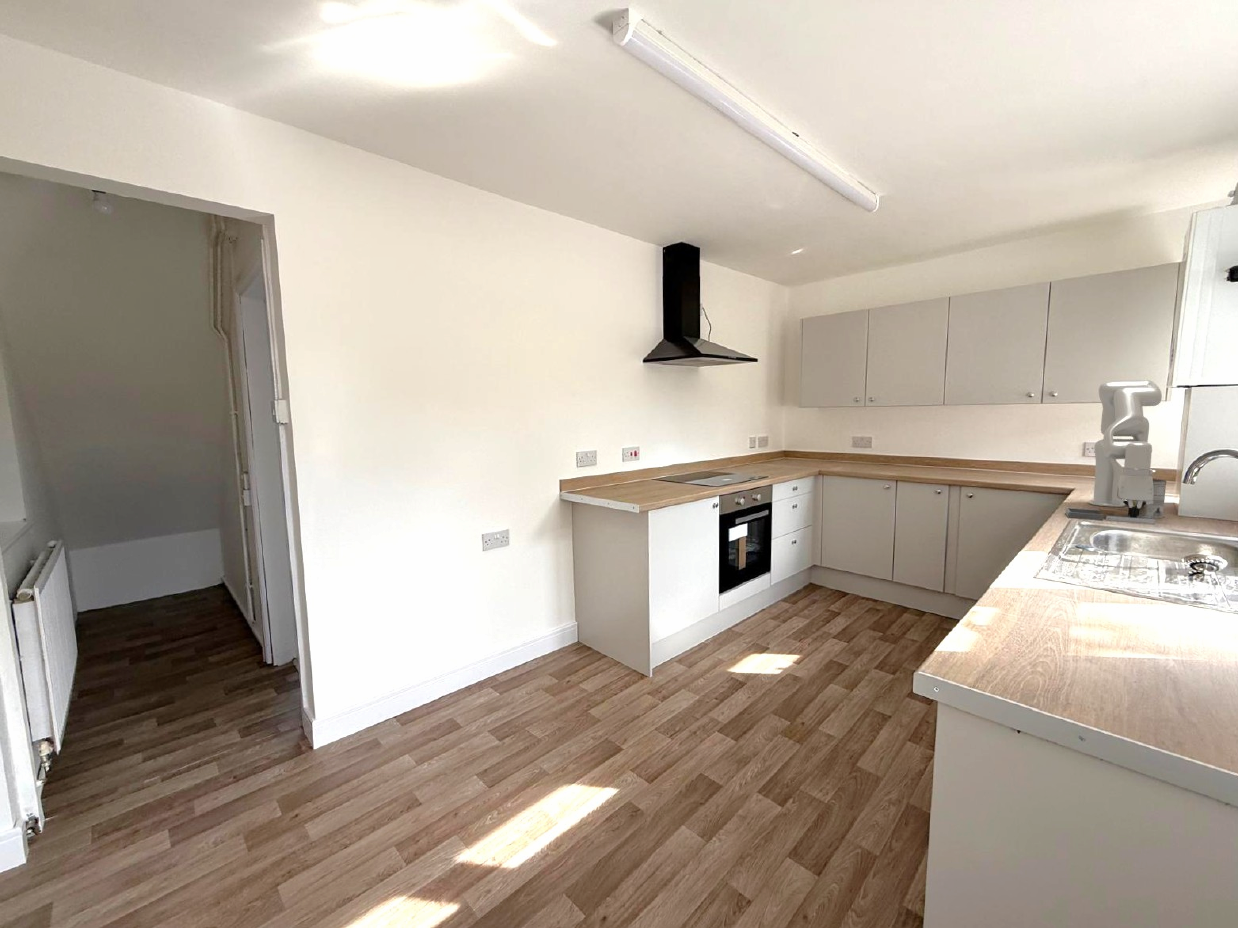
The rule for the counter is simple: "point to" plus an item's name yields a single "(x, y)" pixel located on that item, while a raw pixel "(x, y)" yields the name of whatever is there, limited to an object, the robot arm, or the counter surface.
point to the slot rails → (1131, 519)
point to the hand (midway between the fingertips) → (1133, 517)
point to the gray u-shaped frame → (1083, 514)
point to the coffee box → (1155, 500)
